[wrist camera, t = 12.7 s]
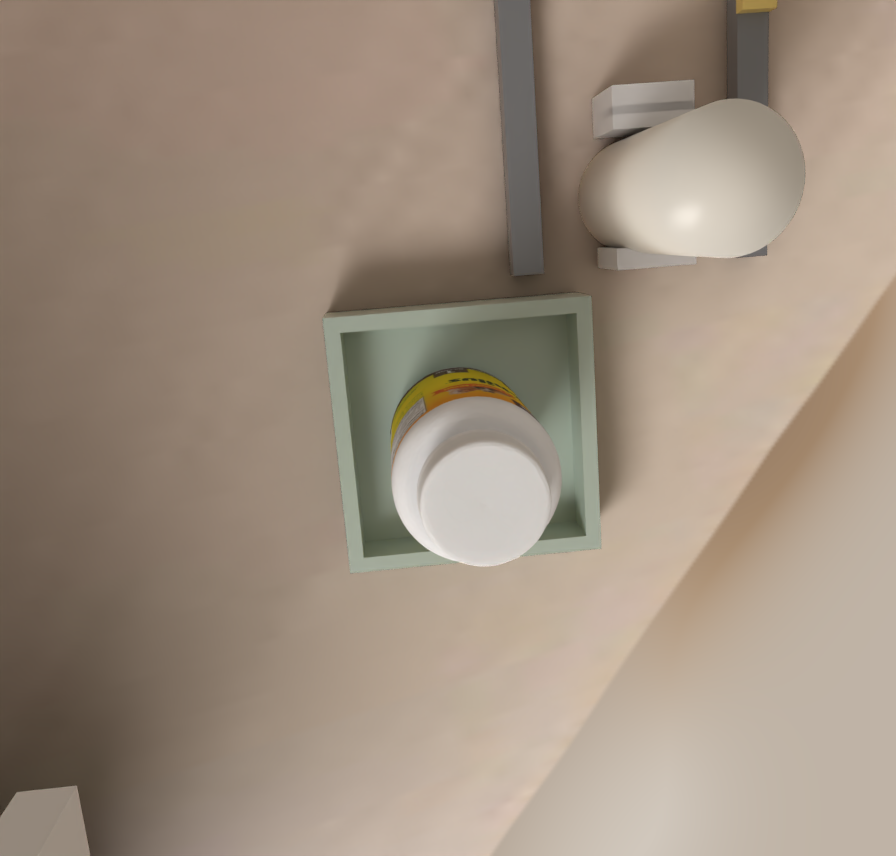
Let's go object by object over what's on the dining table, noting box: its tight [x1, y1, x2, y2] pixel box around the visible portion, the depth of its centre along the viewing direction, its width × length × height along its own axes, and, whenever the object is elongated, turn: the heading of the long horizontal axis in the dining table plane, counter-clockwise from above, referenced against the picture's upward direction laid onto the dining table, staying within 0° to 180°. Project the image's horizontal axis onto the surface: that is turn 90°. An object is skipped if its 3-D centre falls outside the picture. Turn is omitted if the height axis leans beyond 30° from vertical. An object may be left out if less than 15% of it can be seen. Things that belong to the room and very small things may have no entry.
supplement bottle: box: [390, 367, 562, 566], centre depth 30 cm, size 6×6×10 cm
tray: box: [322, 292, 601, 573], centre depth 35 cm, size 10×10×2 cm
